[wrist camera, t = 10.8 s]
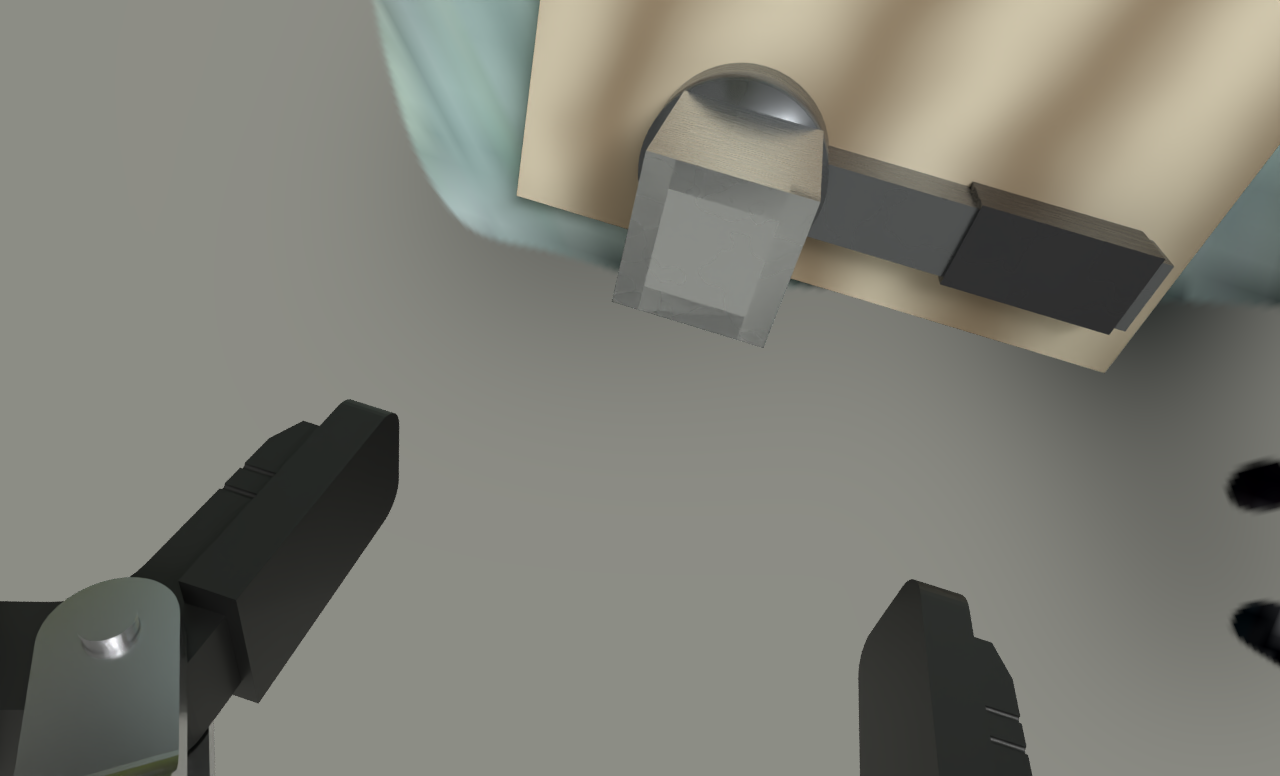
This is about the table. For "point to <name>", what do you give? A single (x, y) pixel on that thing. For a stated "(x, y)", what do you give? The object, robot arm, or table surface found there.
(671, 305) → the grey pocketed block
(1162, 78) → the board
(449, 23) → the table surface
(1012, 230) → the ratchet
